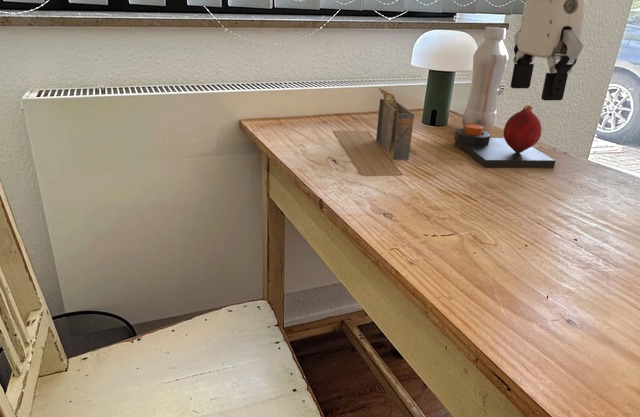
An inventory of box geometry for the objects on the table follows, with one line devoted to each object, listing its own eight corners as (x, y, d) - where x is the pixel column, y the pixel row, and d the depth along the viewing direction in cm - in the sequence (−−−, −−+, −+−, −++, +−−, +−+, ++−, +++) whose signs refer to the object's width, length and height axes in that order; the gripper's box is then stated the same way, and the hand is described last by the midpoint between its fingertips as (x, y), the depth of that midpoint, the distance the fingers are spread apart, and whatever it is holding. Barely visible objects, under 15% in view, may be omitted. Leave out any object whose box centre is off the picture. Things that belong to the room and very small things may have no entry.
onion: (528, 160, 79) (540, 111, 76) (494, 152, 82) (503, 104, 79) (540, 153, 83) (551, 106, 80) (507, 145, 87) (516, 100, 83)
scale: (514, 144, 93) (517, 129, 91) (553, 168, 80) (558, 151, 79) (448, 143, 91) (451, 128, 90) (478, 168, 79) (482, 150, 78)
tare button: (477, 132, 89) (478, 124, 88) (484, 137, 86) (485, 128, 86) (461, 132, 89) (462, 123, 88) (468, 137, 86) (469, 128, 85)
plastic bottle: (485, 128, 103) (505, 27, 95) (498, 137, 97) (520, 30, 88) (455, 127, 102) (472, 25, 94) (466, 136, 96) (485, 28, 88)
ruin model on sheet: (332, 130, 96) (335, 79, 92) (413, 131, 98) (419, 81, 94) (361, 175, 73) (366, 110, 69) (464, 174, 76) (475, 112, 72)
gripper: (621, -25, 64) (589, 105, 71) (549, -23, 80) (529, 84, 87) (568, -27, 64) (541, 105, 71) (506, -24, 79) (489, 84, 86)
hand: (534, 93), depth 79 cm, fingers open, 9 cm apart
